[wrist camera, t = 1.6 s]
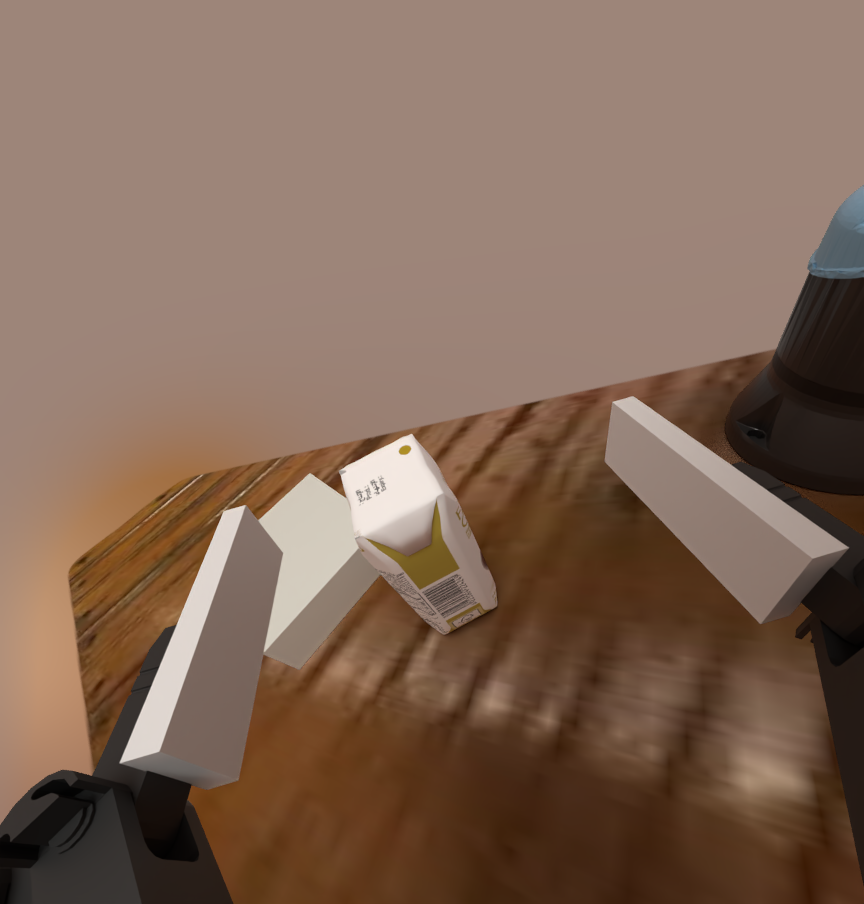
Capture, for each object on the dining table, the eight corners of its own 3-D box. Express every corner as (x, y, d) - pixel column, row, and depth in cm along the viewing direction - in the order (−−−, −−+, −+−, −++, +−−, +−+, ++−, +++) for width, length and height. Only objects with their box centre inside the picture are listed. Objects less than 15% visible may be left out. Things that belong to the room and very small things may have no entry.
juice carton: (440, 649, 33) (345, 556, 20) (413, 573, 40) (328, 466, 27) (509, 611, 34) (459, 496, 21) (472, 542, 40) (415, 421, 27)
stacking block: (331, 498, 52) (309, 473, 48) (401, 549, 42) (381, 523, 38) (242, 585, 46) (209, 565, 42) (299, 669, 36) (262, 654, 32)
